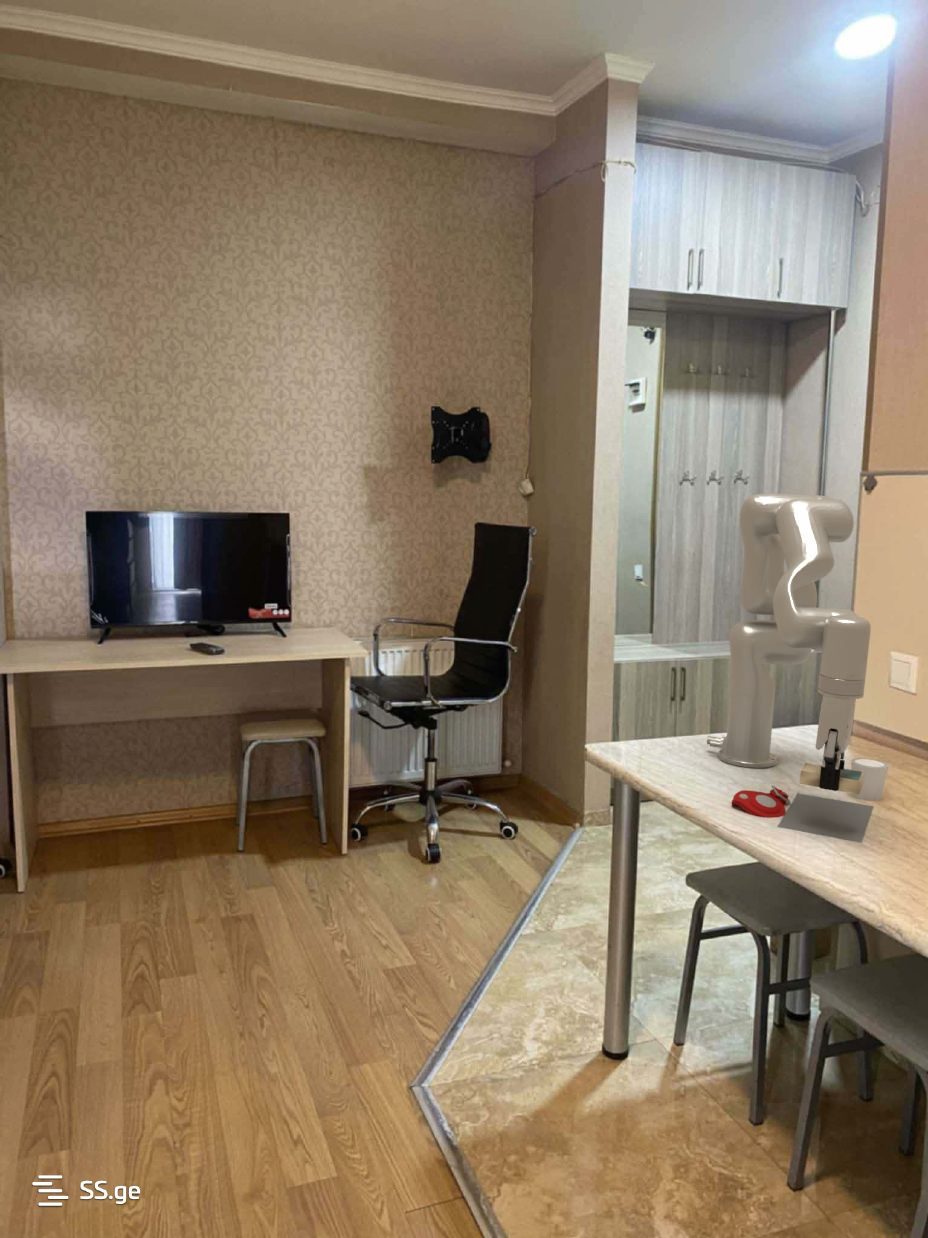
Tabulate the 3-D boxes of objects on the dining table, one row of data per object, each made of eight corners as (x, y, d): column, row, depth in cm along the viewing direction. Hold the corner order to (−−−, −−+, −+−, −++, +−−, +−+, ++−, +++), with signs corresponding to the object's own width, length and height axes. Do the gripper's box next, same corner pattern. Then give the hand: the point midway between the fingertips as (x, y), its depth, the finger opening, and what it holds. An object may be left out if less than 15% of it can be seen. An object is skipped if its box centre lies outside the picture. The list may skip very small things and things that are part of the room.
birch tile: (799, 783, 171) (800, 769, 171) (803, 776, 176) (805, 761, 175) (859, 794, 167) (860, 780, 166) (862, 786, 171) (863, 772, 171)
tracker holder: (786, 820, 174) (732, 799, 177) (779, 839, 176) (725, 818, 179) (795, 787, 184) (743, 768, 187) (788, 806, 186) (737, 786, 189)
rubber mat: (777, 829, 171) (777, 826, 171) (797, 796, 190) (797, 793, 190) (861, 845, 165) (861, 842, 165) (873, 809, 184) (873, 806, 184)
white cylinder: (881, 804, 187) (885, 769, 186) (844, 797, 191) (848, 763, 190) (887, 795, 193) (890, 761, 192) (851, 788, 197) (854, 755, 196)
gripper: (825, 674, 177) (815, 768, 180) (811, 692, 162) (801, 794, 166) (869, 679, 174) (858, 775, 177) (858, 699, 159) (847, 803, 162)
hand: (830, 783), depth 171 cm, fingers closed on birch tile, 4 cm apart
